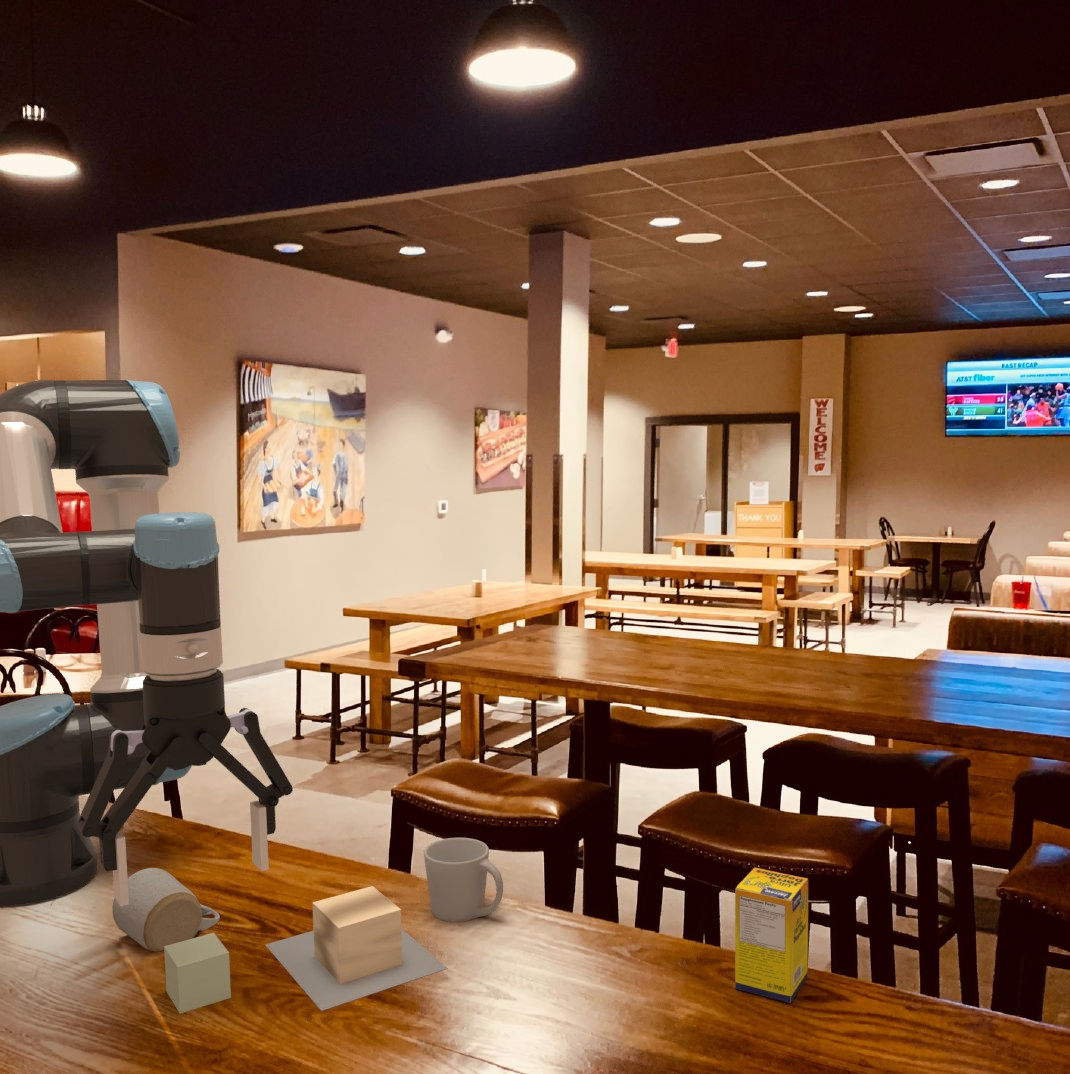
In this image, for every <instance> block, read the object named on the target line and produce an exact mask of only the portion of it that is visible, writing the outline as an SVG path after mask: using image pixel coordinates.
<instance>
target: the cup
mask: <svg viewBox="0 0 1070 1074" xmlns="http://www.w3.org/2000/svg"><path fill="white" fill-rule="evenodd" d="M489 854H490V849H489V846H488V845H487V844H486V843H485V842H483V841H481V840H478V839H474V838H468V837H449V838H444V839H439V840H436V841H434V842H432V843H430V844H428V845H427V846H426V847H425V849H424V850H423V857H424V864H425V874H426V880H427V888H428V889H427V890H428V894H429V900H430V901H429V902H430V906H431V907H430V908H431V911H432V915H433V916H434V917H435V918H436V919H439V920H441V921H444V922H451V923H461V922H466V921H471V920H474V919H477V918H479V917H485V916H487V915H489V914H491V913H492V912H495V911H496V909H497V908H498V907H499V905H500V904H501V901H502V899H503V893H504V881H503V877H502V874H501V872H500V870H499V868H498V867H497V866H496V865H494V864H493V863H492V861H490V860H489ZM488 873H489V874H490V875H491V876H492V878H493V879H494V883H495V888H496V889H495V890H496V893H495V898H494V900H493V902H492V903H491V904H489V905H485V904H484V902H485V895H486V888H487V879H488V877H487V876H488Z"/></svg>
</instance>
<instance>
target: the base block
mask: <svg viewBox="0 0 1070 1074" xmlns="http://www.w3.org/2000/svg"><path fill="white" fill-rule="evenodd" d="M312 925H313V926H312V927H313V930H312V931H314V956H315V957H316V958H317V959H318V960H319V961H320V963H321V964H322V965H323V966H324V967H325V968H326V969H327V970H328V971H329V972H330V973H331V974H332V975H333V977H334V978H335V979H336V980H337V981H338V982H339V983H340V984H343V983H346V982H349V981H352V980H355V979H358V978H361V977H364V976H367V975H370V974H373V973H376V972H379V971H383V970H386V969H389V968H392V967H395V966H398V965H401V964H402V929H403V928H402V909H401V908H400V907H399V906H398V905H396V904H395V903H394V902H392V901H391V900H390V899H389V898H387V896H386V895H384V894H383V893H382V892H381V891H379V890H378V889H377V888H376V887H374V886H373V885H372V886H367V887H363V888H361V889H357V890H354V891H349V892H345V893H342V894H339V895H335V896H331V897H328V898H323V899H321V900H317V901H312ZM401 928H402V929H401Z"/></svg>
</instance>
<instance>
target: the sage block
mask: <svg viewBox="0 0 1070 1074" xmlns="http://www.w3.org/2000/svg"><path fill="white" fill-rule="evenodd" d="M163 952H164V968H165V969H164V971H165V990H166V993H167V995H168V997H169V998H170V1000H171V1001H172V1004H174V1006H175V1007H176V1009H177V1011H178V1013H179V1014H180V1015H181V1014H184V1013H187V1012H191V1011H193V1010H196V1009H200V1008H204V1007H205V1006H209V1005H212V1004H213V1005H214V1004H215V1003H219V1002H222V1001H224V1000H228V999H232V989H231V971H230V968H231V967H230V952H229V951H228V949H227V948H226V947H225V945H224V944H223V943H222V941H221V939H220V938H219V937H218V936H217V935H216V933H215V932H210V933H207V934H203V935H201V936H197V937H194V938H193V939H189V940H185V941H182V942H178V943H174V944H171V945H167V946H164V950H163Z"/></svg>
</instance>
